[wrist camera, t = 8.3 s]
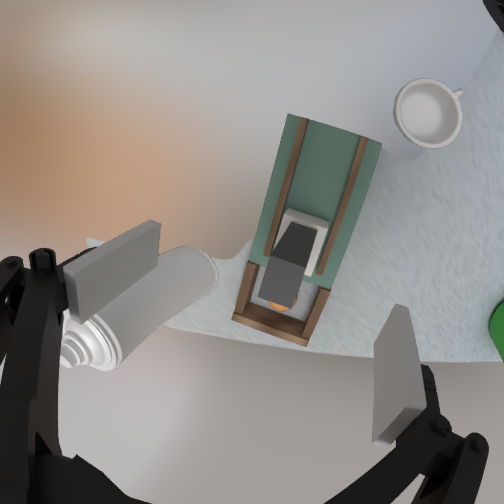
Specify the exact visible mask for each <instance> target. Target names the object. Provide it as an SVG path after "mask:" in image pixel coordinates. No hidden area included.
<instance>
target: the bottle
mask: <svg viewBox="0 0 504 504" xmlns="http://www.w3.org/2000/svg"><path fill="white" fill-rule="evenodd" d="M489 332H490V335H491V338H492V340H493V342H494V344H495V346H496V348H497V350H498V352H499V354H500V356H501V358H502V360H503V362H504V302H503V303H502V304H501V305H500V306H499V307H498V309H497V310H496V312H495V313H494V314H493V317H492V319H491V322H490V329H489Z"/></svg>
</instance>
